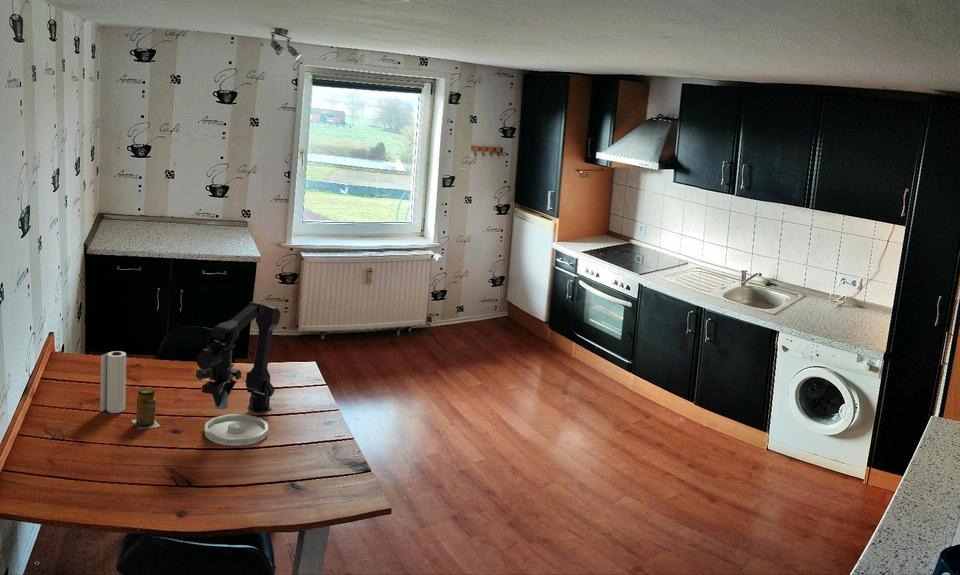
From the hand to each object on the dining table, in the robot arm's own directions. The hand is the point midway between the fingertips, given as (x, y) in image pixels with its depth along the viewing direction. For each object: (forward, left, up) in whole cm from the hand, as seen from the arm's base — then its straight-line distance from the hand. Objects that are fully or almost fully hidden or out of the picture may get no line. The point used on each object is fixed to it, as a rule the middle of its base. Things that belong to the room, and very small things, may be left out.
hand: (220, 404), depth 288 cm
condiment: (+19, -17, -10) cm, 27 cm away
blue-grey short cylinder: (0, 0, -1) cm, 1 cm away
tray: (-3, +5, -10) cm, 11 cm away
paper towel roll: (+23, -33, -10) cm, 41 cm away
